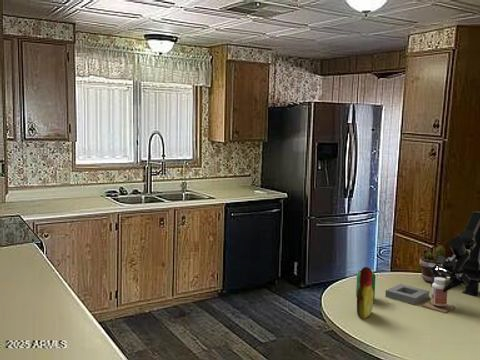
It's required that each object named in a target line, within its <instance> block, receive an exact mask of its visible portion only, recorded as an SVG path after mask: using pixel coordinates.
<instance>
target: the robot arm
mask: <svg viewBox="0 0 480 360" xmlns="http://www.w3.org/2000/svg"><path fill="white" fill-rule="evenodd" d="M448 246H449V248H450V251H451V253H452V256H451V257H449V256H448V257H445V256H444V257H442V256H438V259H437V263H440V264H442V265H441V266H442V267H443V269H441V268H440V266H439V265H438V264H435V263H432V262H431V263H429V265H428V266H427V267H428V268H429V269H430V270H431V272H432V273H433V278H432V282H431V283H430V287H431V288H432V284H433V283H434V278H435V277H441V275H442V274H445V275H446V276H447V277H448V276H449V279H448V280H447V282H446V283H445V284H446V286H445V287H444V289H443V292H446V291H447V292H448V291H449V290H451V289H454V288H456V287H459V286H462V285H463V286H464V289H463V290H462V291H461V292H462V293H463V294H466V295H471V296H475V297H477V296H479V295H480V291H479V290H480V289H479V288H480V211H476V210H475V211H471V213H470V217H469V220H468V222H467V225H466V226H465V228H464V230H463V231H461V232H459V234H458V235H455V237H454V238H453V237H452V238H451V239H450V240H449V241H448ZM441 278H442V277H441Z"/></svg>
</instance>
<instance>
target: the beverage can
mask: <svg viewBox="0 0 480 360" xmlns="http://www.w3.org/2000/svg"><path fill="white" fill-rule="evenodd" d="M360 275H361V270H358V272H357V274H356V285H355V287H356V288H355V290H356V291H355V297H356V298H357V292H358V289H359V287H360ZM371 282H372V283H371V286H372V289H373V292H374V295H373V300H374V299H375V294H376V293H375V292H376V291H375V290H376V274H375V272H374V271H372V281H371Z"/></svg>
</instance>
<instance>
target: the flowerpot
mask: <svg viewBox="0 0 480 360" xmlns="http://www.w3.org/2000/svg"><path fill="white" fill-rule="evenodd" d="M446 254H447V251H446V248H445V247H444V246H443V245H442V244H439V245H438V246H435V248H434V251H433V253H432V251H431V250H428V251H427V250H426V252H425V253H424V255H422V256H421V258H420V259H419V262H418V264H419V265H420V267H421V271H422V272H421V274H420V275H421V279H423V281H424V282H426V283H430V284H431V282H432V278H433V273H432V272H431V270H430V269H429V268H428V267H427V266H428V265H429V263H431V262H432V263H435V264H438V265H439V266H440V268H441V269H443V267H442V266H441V265H442V264H440V263H437V259H438V256H442V257H445V256H446ZM441 277H442V278H445V279H446V280H447V278H448V275H445V274H442V275H441Z"/></svg>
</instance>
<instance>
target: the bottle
mask: <svg viewBox="0 0 480 360" xmlns="http://www.w3.org/2000/svg"><path fill="white" fill-rule="evenodd" d="M360 271H361V275H360V287H359V289H358V292H357V297H356V314H357V316H358V317H359V318H361V319H366V318H368V317H369V316H370V315H371V314H372V311H373V305H374V304H373V302H374V299H373V295H374V292H373V289H372V286H371V283H372V282H371V281H372V272H373V271H372V269H371V268H370V267H367V266H365V267H362V268H361V270H360Z"/></svg>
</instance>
